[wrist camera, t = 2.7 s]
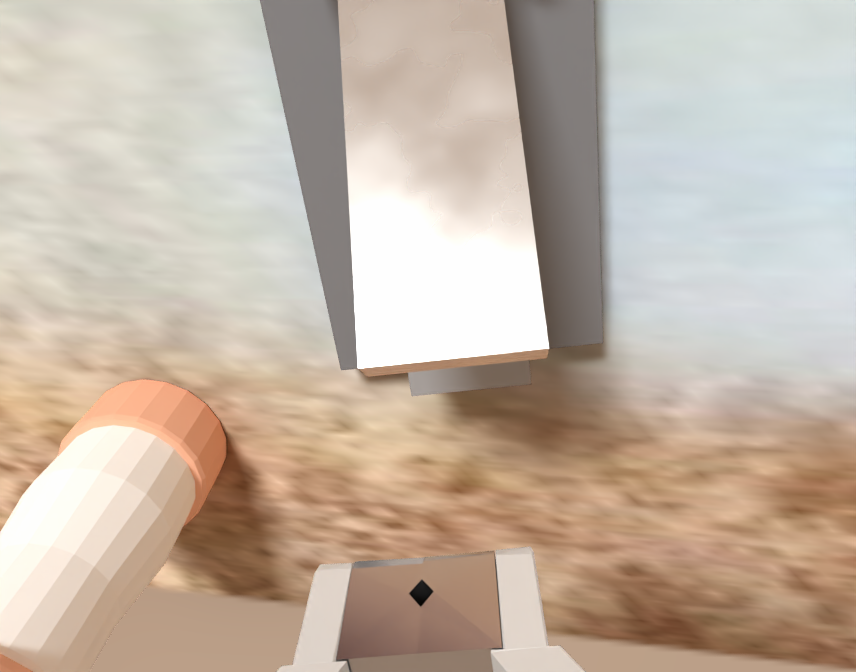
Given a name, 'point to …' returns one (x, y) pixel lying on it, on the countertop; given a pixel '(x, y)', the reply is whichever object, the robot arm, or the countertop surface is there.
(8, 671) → the pepper shaker
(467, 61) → the clamp lever
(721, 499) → the countertop surface
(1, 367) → the countertop surface
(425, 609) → the robot arm
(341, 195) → the clamp board
